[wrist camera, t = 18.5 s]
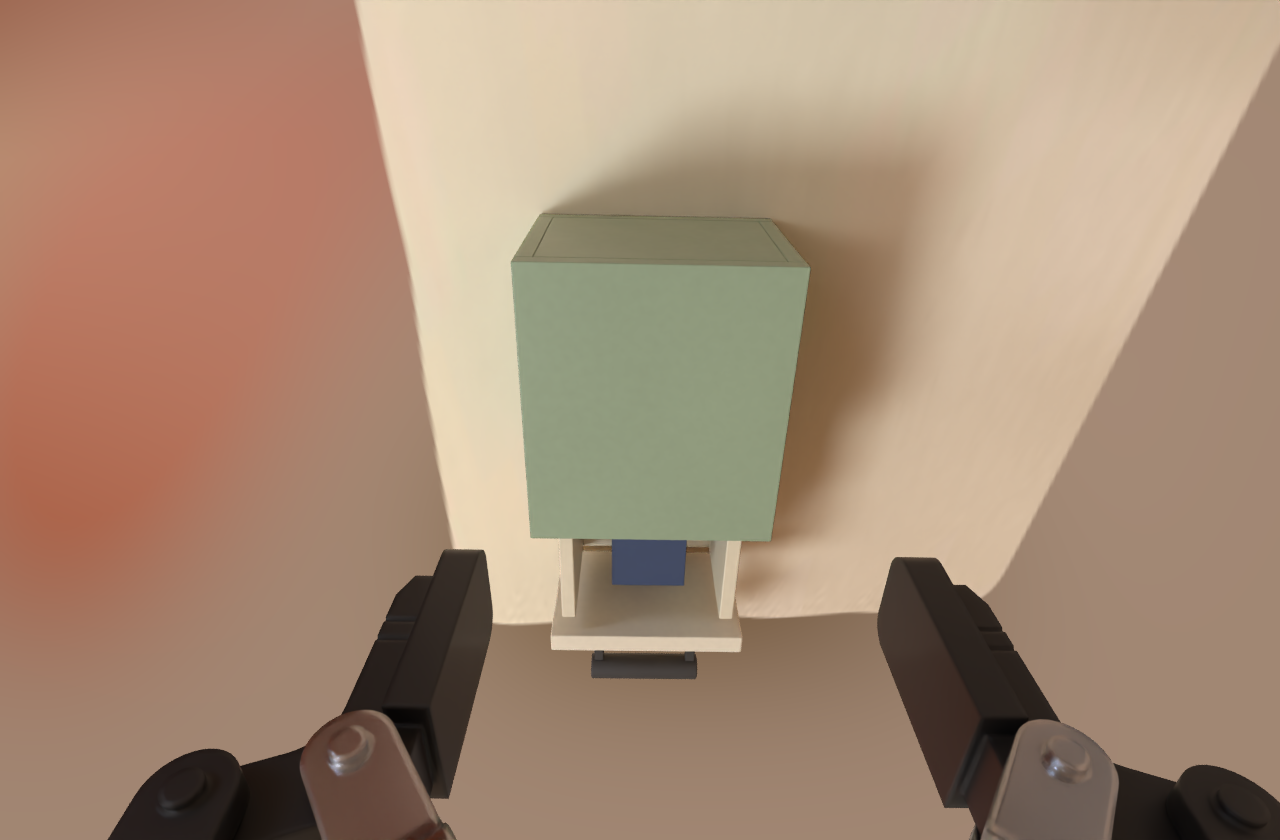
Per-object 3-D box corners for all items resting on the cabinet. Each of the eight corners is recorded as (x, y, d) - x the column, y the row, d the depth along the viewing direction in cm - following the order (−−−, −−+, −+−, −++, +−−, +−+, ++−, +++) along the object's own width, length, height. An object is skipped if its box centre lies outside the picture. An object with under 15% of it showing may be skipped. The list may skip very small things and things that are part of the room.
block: (683, 485, 42) (687, 528, 39) (679, 540, 45) (684, 586, 41) (613, 484, 42) (611, 527, 38) (613, 539, 44) (611, 585, 41)
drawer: (719, 621, 50) (733, 712, 43) (566, 620, 49) (555, 710, 43) (744, 394, 41) (766, 462, 34) (556, 390, 40) (540, 459, 34)
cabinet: (745, 447, 43) (771, 541, 35) (551, 444, 43) (530, 538, 35) (770, 218, 36) (811, 267, 28) (539, 213, 36) (510, 261, 28)
